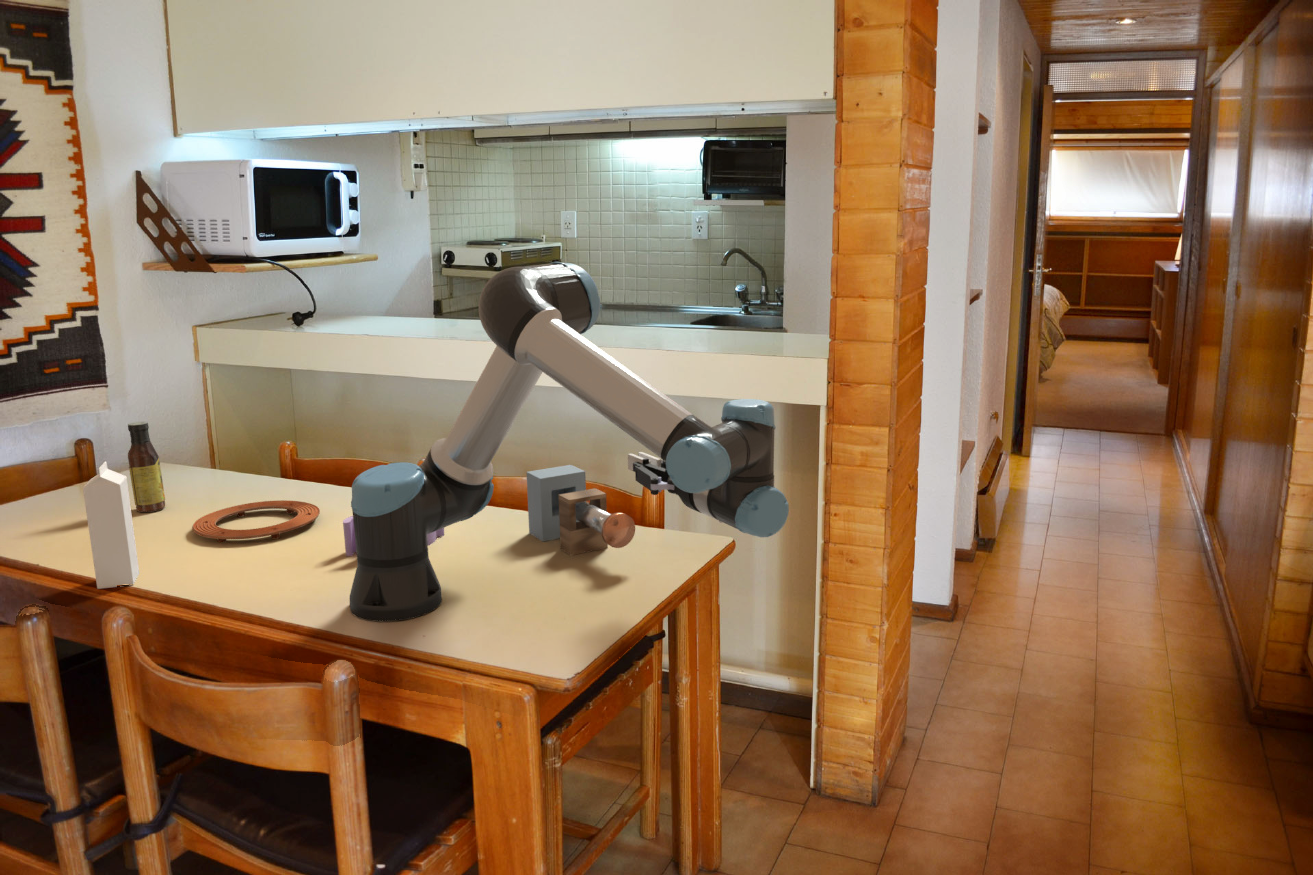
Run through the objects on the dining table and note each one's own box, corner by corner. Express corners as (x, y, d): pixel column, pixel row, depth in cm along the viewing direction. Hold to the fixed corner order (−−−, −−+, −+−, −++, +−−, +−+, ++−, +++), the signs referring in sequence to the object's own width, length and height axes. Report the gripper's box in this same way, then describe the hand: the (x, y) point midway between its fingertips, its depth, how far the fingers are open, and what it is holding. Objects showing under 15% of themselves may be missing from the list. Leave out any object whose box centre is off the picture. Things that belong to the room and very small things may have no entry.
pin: (605, 550, 188) (604, 517, 187) (561, 526, 203) (560, 494, 201) (635, 544, 191) (634, 511, 190) (590, 520, 206) (589, 489, 205)
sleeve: (571, 555, 199) (569, 500, 197) (560, 548, 203) (558, 494, 200) (607, 547, 203) (606, 493, 201) (596, 541, 207) (595, 488, 204)
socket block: (542, 541, 207) (540, 478, 204) (529, 533, 213) (526, 471, 210) (587, 532, 212) (585, 471, 209) (572, 524, 218) (570, 464, 215)
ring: (166, 542, 212) (164, 531, 211) (242, 507, 236) (241, 496, 235) (276, 550, 206) (274, 539, 205) (343, 513, 230) (342, 502, 229)
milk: (97, 589, 186) (78, 470, 180) (104, 577, 191) (86, 462, 186) (134, 585, 187) (117, 467, 182) (140, 573, 193) (124, 459, 188)
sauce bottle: (172, 507, 235) (161, 422, 230) (146, 515, 230) (134, 427, 225) (154, 503, 238) (144, 419, 234) (128, 510, 233) (117, 424, 229)
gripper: (672, 522, 158) (598, 487, 178) (748, 506, 166) (670, 475, 185) (671, 474, 157) (597, 444, 176) (748, 461, 164) (669, 434, 184)
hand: (634, 460), depth 181 cm, fingers closed
